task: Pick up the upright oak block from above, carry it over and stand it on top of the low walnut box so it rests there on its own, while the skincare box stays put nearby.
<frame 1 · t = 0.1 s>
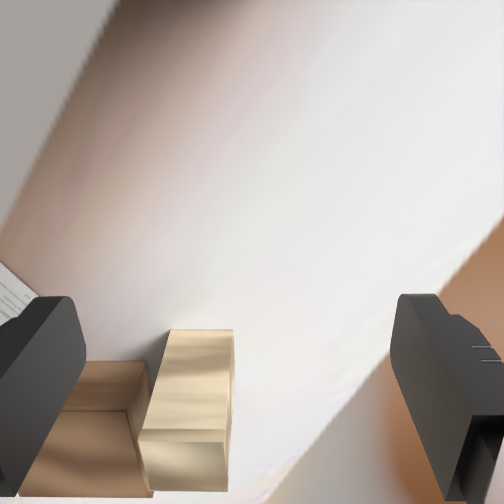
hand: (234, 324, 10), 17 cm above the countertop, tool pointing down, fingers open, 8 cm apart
skincare box: (8, 302, 32), on the countertop
walnut box: (91, 405, 38), on the countertop
oak block: (204, 352, 34), on the countertop
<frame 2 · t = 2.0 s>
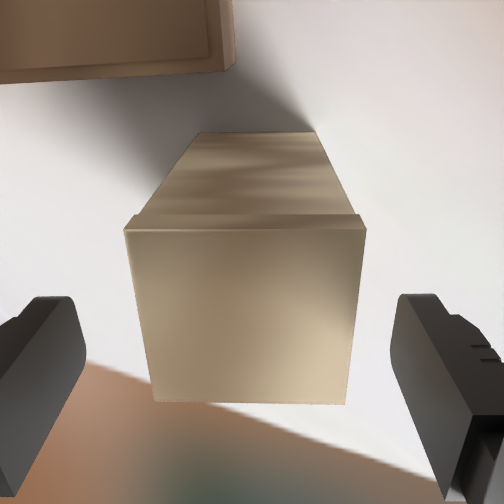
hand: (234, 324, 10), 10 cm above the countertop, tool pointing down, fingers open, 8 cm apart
oak block: (257, 188, 19), on the countertop
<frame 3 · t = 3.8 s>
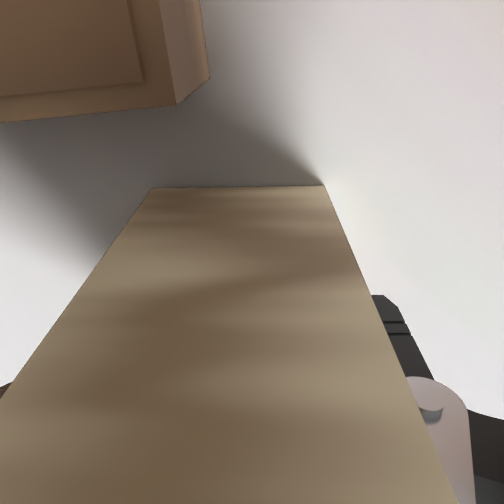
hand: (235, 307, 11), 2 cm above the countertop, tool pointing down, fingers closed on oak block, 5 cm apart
oak block: (240, 262, 13), on the countertop, touching gripper
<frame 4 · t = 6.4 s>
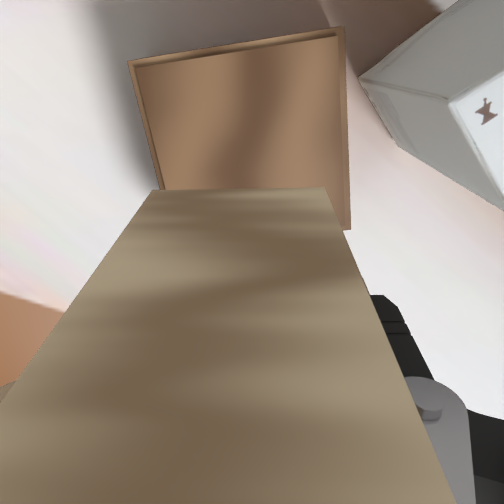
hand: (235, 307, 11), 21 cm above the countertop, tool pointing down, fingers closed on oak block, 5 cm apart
skincare box: (430, 70, 27), on the countertop
walnut box: (251, 135, 29), on the countertop
oak block: (240, 263, 13), point 18 cm above the countertop, touching gripper
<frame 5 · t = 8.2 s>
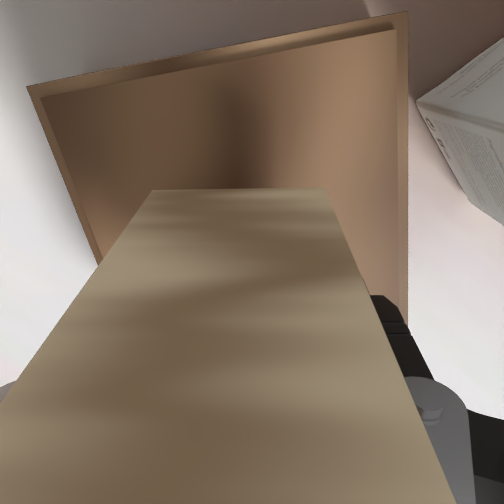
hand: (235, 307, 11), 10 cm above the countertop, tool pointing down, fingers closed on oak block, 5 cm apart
walnut box: (247, 184, 20), on the countertop
oak block: (240, 263, 13), point 7 cm above the countertop, touching gripper
when the fingers open (9 cm above the countertop, at t = 9.3 s): oak block drops 2 cm, resting on walnut box.
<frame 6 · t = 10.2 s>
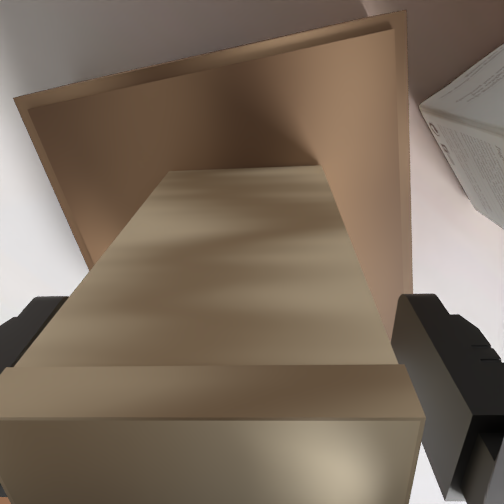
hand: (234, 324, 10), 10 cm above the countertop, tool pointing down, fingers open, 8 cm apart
walnut box: (245, 190, 19), on the countertop, touching oak block
oak block: (248, 237, 15), point 5 cm above the countertop, touching walnut box
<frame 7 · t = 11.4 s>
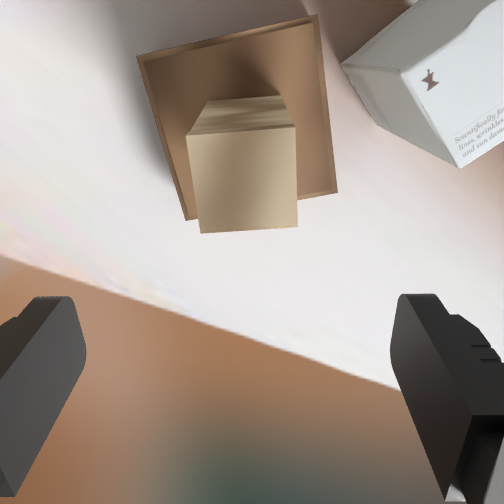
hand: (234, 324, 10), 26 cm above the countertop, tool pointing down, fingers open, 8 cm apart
skincare box: (403, 57, 31), on the countertop
walnut box: (245, 117, 33), on the countertop
oak block: (247, 135, 29), point 5 cm above the countertop
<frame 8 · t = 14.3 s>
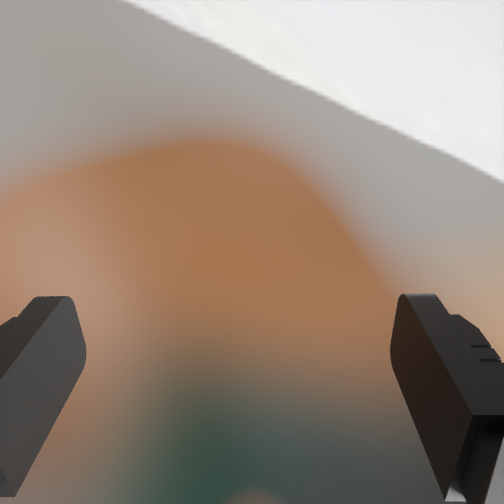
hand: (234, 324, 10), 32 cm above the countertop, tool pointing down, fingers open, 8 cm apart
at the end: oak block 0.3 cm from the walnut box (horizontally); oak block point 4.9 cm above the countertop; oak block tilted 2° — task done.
